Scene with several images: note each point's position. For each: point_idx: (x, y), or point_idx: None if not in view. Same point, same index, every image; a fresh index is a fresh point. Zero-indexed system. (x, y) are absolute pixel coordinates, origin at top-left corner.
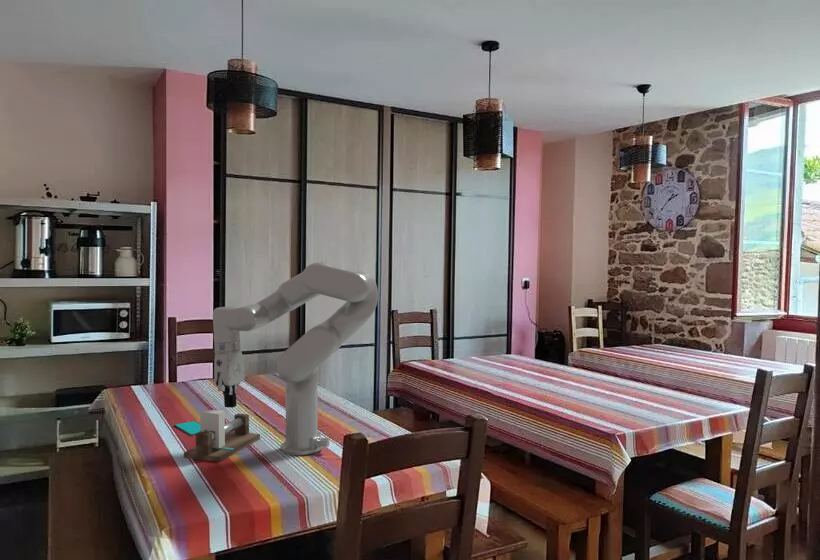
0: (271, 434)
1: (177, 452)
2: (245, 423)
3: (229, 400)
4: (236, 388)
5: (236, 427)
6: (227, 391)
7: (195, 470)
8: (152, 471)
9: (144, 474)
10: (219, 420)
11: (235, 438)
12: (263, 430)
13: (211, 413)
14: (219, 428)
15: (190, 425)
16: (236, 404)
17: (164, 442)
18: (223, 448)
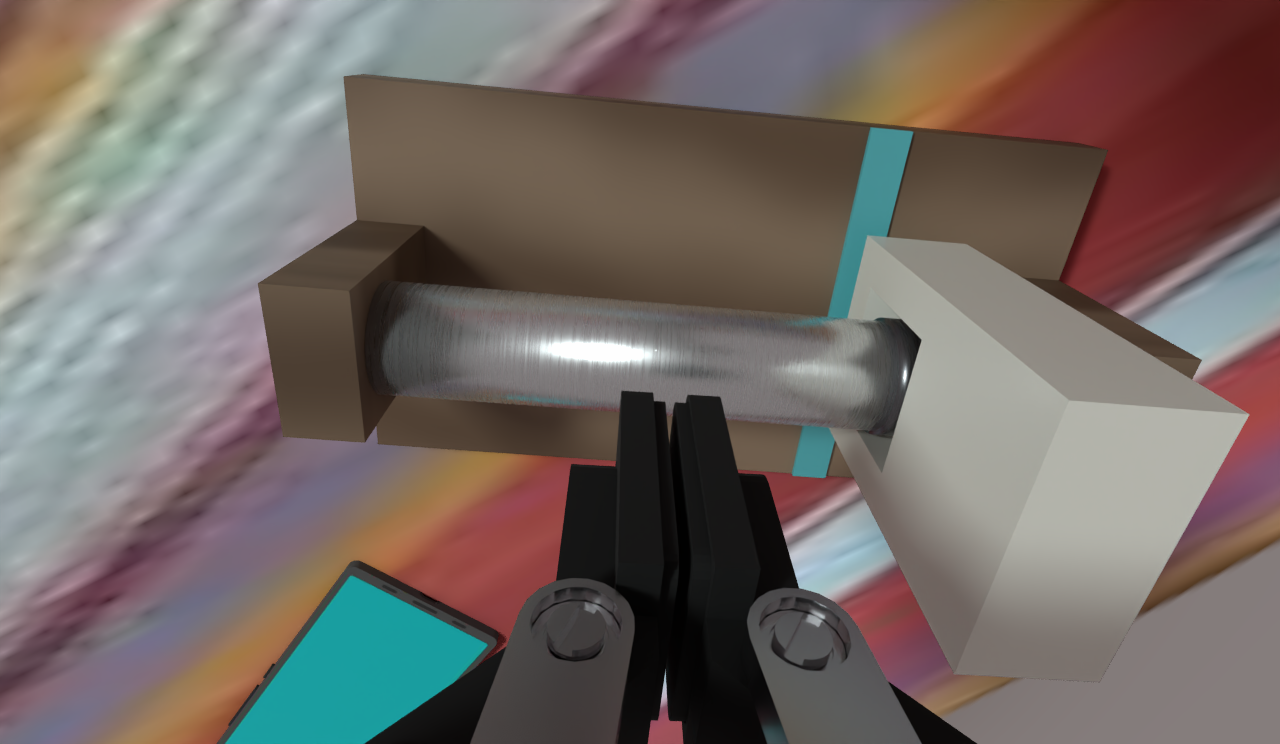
0: (176, 10)
1: (849, 552)
2: (382, 262)
3: (778, 532)
4: (522, 683)
5: (551, 294)
6: (937, 737)
7: (1263, 248)
8: (1227, 510)
9: (1277, 525)
10: (1144, 358)
11: (561, 268)
12: (105, 169)
13: (1176, 530)
14: (1070, 313)
15: (313, 731)
16: (622, 399)
17: (665, 703)
18: (882, 231)
